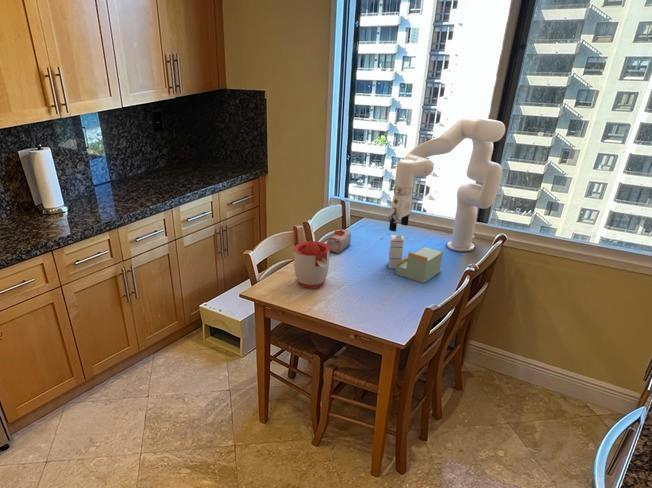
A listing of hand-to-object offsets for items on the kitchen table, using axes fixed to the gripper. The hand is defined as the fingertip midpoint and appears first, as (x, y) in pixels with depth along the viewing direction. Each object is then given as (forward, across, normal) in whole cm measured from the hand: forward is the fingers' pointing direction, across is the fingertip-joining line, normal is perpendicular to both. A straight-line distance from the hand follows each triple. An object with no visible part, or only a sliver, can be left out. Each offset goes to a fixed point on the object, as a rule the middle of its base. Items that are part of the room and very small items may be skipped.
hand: (398, 227), depth 230 cm
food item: (+19, +1, +32) cm, 38 cm away
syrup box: (+19, +1, 0) cm, 19 cm away
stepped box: (+19, +1, -12) cm, 22 cm away
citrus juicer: (+20, -38, +18) cm, 46 cm away
